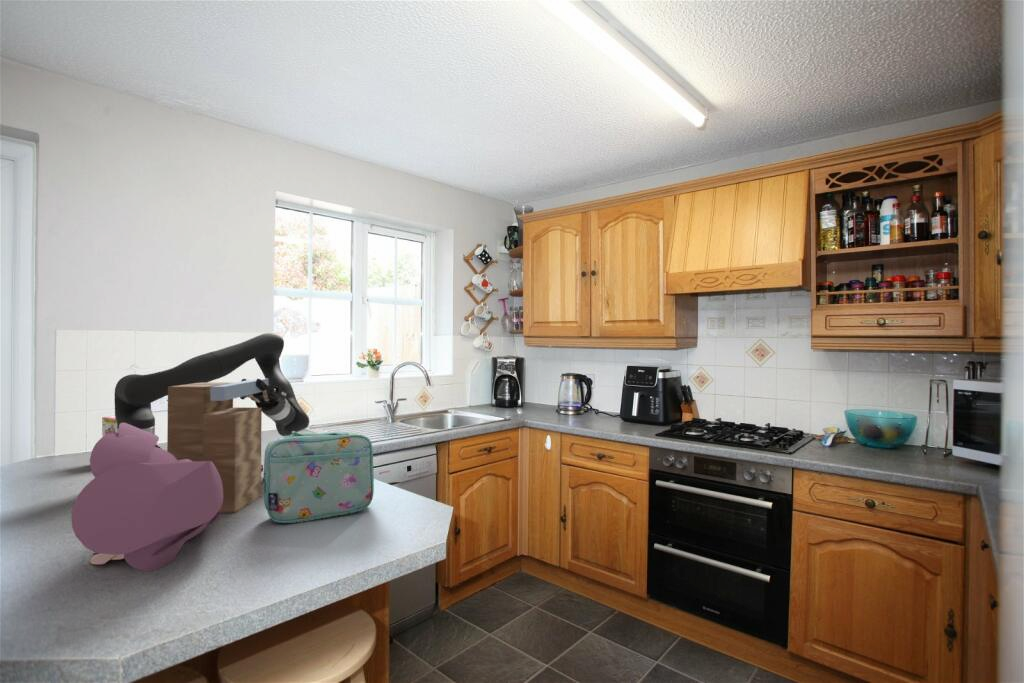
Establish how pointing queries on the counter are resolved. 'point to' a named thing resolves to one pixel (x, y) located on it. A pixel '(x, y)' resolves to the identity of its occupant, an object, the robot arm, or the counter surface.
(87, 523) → the mauve lumpy blob
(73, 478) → the counter surface
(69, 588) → the counter surface
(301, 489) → the lunch box
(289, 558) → the counter surface
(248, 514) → the counter surface
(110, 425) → the candy bar box
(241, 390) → the rail
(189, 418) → the stand
